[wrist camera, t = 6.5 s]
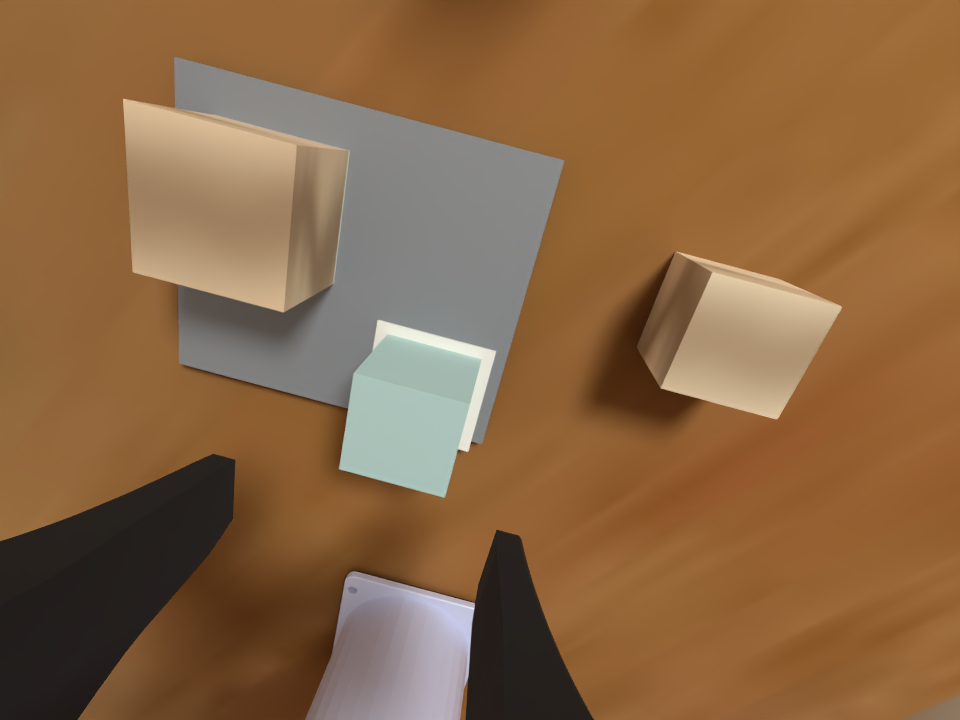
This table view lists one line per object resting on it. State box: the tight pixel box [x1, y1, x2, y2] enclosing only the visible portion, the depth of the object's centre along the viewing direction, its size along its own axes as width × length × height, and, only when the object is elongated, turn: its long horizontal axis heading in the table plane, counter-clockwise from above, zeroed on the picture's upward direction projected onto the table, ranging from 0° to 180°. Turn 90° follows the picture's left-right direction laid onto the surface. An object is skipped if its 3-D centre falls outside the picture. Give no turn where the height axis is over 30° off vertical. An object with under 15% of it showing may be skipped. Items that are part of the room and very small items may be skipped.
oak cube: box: [123, 99, 349, 312], centre depth 16 cm, size 5×5×4 cm
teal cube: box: [339, 334, 482, 498], centre depth 18 cm, size 4×4×4 cm
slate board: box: [174, 57, 564, 452], centre depth 19 cm, size 12×14×1 cm
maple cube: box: [637, 251, 842, 419], centre depth 16 cm, size 4×4×4 cm
